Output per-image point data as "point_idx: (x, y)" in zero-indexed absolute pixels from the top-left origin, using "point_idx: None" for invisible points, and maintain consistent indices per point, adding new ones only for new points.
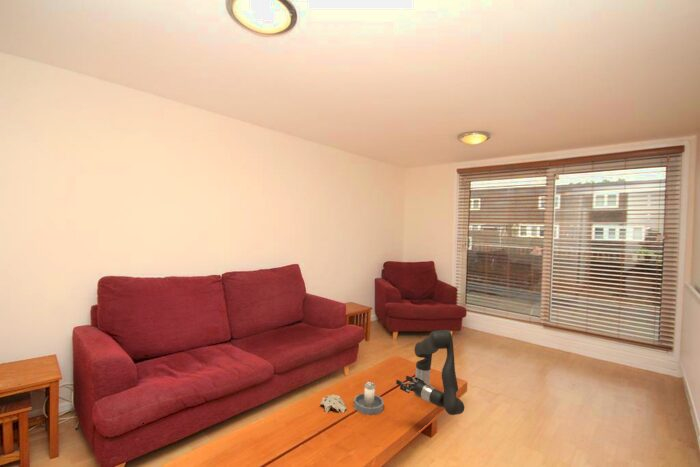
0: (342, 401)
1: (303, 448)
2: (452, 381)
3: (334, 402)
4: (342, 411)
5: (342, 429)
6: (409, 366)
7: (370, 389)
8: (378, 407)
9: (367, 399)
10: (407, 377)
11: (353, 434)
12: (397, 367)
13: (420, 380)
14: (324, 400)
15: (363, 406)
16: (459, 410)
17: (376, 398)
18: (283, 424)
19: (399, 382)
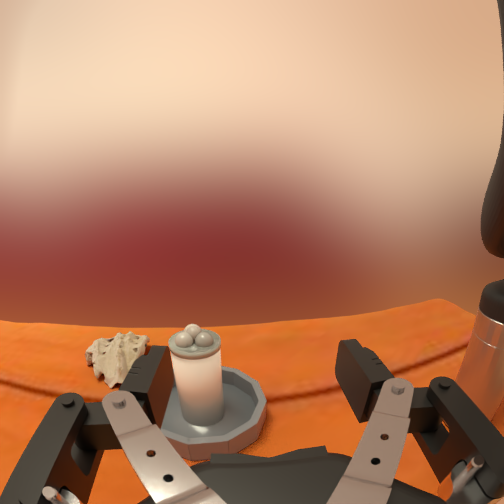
0: (134, 360)
1: None
2: None
3: (107, 351)
4: (109, 384)
5: (31, 415)
6: (463, 320)
7: (176, 357)
8: (186, 442)
9: (177, 391)
10: (344, 360)
11: (20, 444)
12: (433, 318)
13: (481, 449)
14: (113, 339)
15: (178, 407)
16: None
17: (256, 402)
18: (16, 337)
19: (135, 378)
